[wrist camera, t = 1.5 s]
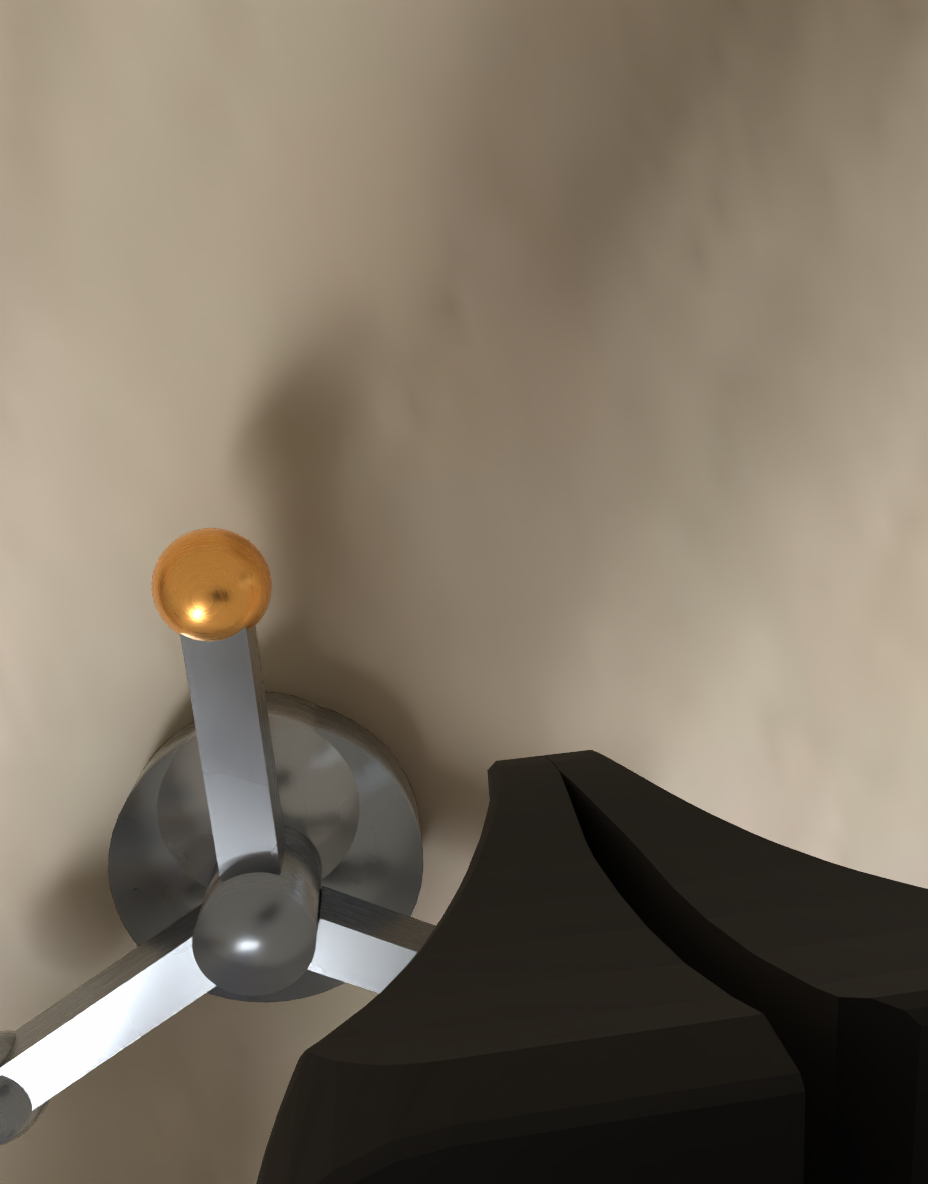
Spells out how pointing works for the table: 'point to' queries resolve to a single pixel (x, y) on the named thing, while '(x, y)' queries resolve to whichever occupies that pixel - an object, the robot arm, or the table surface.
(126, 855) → the cam capstan
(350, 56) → the table surface
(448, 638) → the table surface
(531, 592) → the table surface
